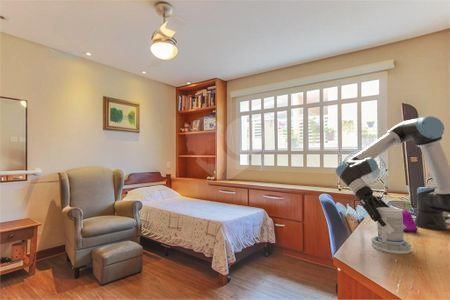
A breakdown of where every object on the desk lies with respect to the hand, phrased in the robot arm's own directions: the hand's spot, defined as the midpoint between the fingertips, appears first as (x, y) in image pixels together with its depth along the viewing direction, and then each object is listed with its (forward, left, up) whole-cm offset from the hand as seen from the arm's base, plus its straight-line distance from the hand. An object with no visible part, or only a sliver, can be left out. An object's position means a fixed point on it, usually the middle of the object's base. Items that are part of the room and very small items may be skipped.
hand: (397, 230), depth 106 cm
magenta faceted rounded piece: (-29, -28, -8) cm, 41 cm away
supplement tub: (+1, -3, -6) cm, 7 cm away
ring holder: (+1, -3, -8) cm, 9 cm away
